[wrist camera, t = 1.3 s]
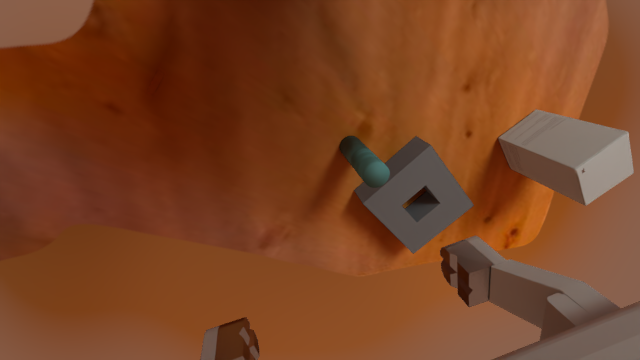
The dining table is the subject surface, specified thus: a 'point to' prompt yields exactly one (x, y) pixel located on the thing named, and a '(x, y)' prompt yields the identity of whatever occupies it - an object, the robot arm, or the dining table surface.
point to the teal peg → (364, 162)
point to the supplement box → (568, 154)
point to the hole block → (404, 182)
